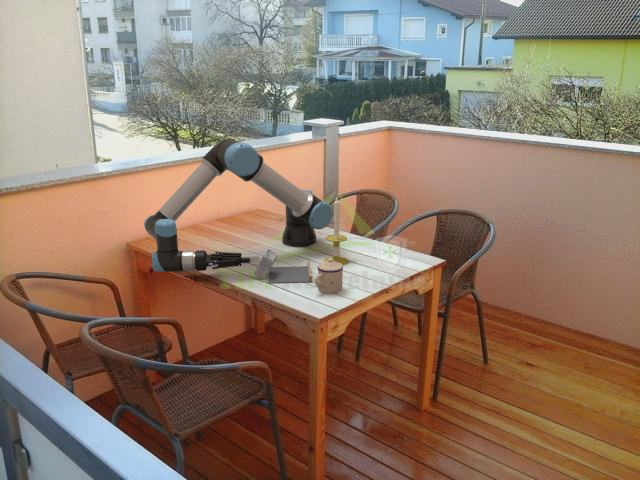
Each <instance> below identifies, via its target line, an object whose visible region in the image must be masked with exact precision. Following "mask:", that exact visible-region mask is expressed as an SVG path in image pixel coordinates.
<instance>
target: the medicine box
mask: <svg viewBox="0 0 640 480" xmlns="http://www.w3.org/2000/svg"><path fill="white" fill-rule="evenodd" d="M278 256H279V254H278V253H276V252H275V251H272V250H271V249H267V250H266V252H265V253H264V255H263V256H262V257H261V258H260V260H259V263H258V265H257V267H256V269H255V270H254V272H253V275H255V277H256V276H257V277H258V278H260V279H261V280H265V279H266V276H267V275H269V271H270V269H271V267H273V265H274V263H275V262H276V260H277V259H278Z"/></svg>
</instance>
